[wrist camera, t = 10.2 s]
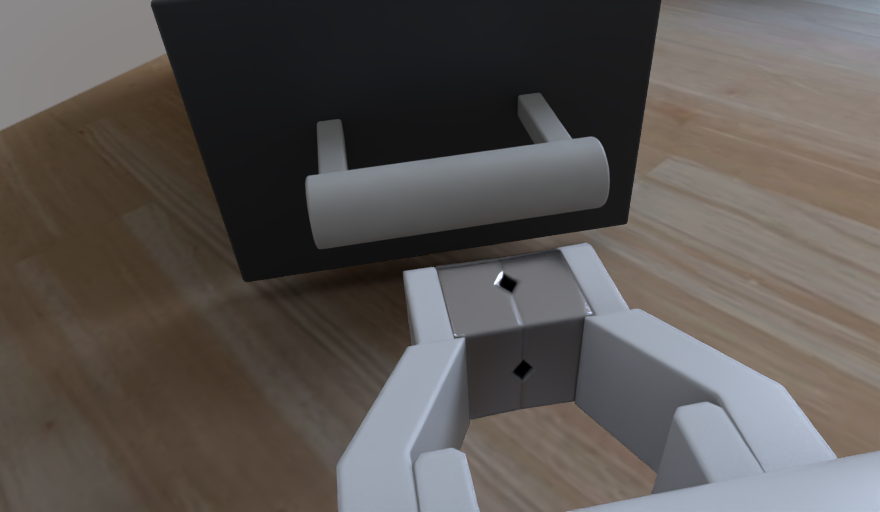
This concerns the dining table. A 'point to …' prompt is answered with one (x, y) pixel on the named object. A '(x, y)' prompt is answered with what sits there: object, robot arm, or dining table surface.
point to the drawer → (409, 121)
